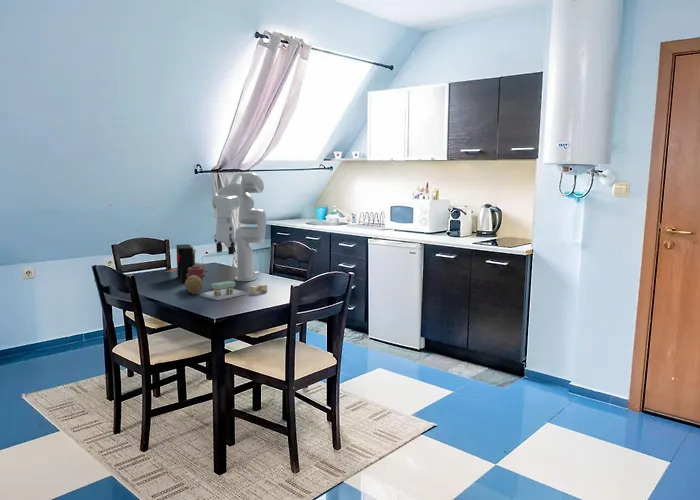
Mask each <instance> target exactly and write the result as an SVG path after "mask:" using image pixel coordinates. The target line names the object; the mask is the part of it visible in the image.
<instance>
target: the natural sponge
mask: <svg viewBox="0 0 700 500" xmlns="http://www.w3.org/2000/svg"><path fill="white" fill-rule="evenodd" d="M202 284H203V285H204V283H202V280H201V278H200V277H198V276H196V275H192V276H190V277H188V278H187V279H186V281H185V283H184V285H185V288H186V290H187V291H188V292H189V293H190V294H192V295H196V294H198V293H200V292H201V291H202V290H203V285H202Z"/></svg>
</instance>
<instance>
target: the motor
mask: <svg viewBox="0 0 700 500" xmlns="http://www.w3.org/2000/svg"><path fill="white" fill-rule="evenodd" d="M195 266H199V267H203V268H204V272H205V271H208V269H211V267H208V264H206V263H202V262H196V261H195ZM175 271H177V267H176V268H173V269H170V270H166V271H165V272H166V273H167V274H168V273H171V272H175Z"/></svg>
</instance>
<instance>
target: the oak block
mask: <svg viewBox="0 0 700 500" xmlns="http://www.w3.org/2000/svg"><path fill="white" fill-rule="evenodd" d="M265 293H268V284H264V283H261V284H256V285H251V286H249V294H250V295H253V296H255V295H260V294H265Z"/></svg>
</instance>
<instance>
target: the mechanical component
mask: <svg viewBox="0 0 700 500" xmlns="http://www.w3.org/2000/svg"><path fill="white" fill-rule="evenodd" d="M192 275H196V276H198V277H200V278H201V280H202V283H203V282H204V281H203V280H204V279H203V278H205V277H206V273H205V271H204V268H203V267H199V266H192V267H190V268H188V273H187V274H186V277H187V278H188V277H190V276H192ZM203 285H204V283H203V284H202V286H203Z"/></svg>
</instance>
